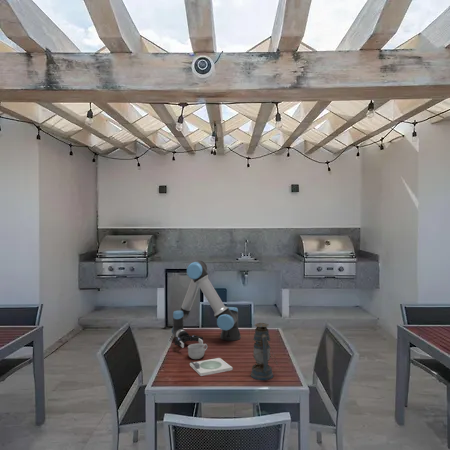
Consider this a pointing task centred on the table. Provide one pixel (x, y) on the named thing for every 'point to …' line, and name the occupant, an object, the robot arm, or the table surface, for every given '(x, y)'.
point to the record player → (210, 366)
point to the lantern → (262, 353)
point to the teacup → (196, 350)
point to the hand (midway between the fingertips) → (193, 344)
